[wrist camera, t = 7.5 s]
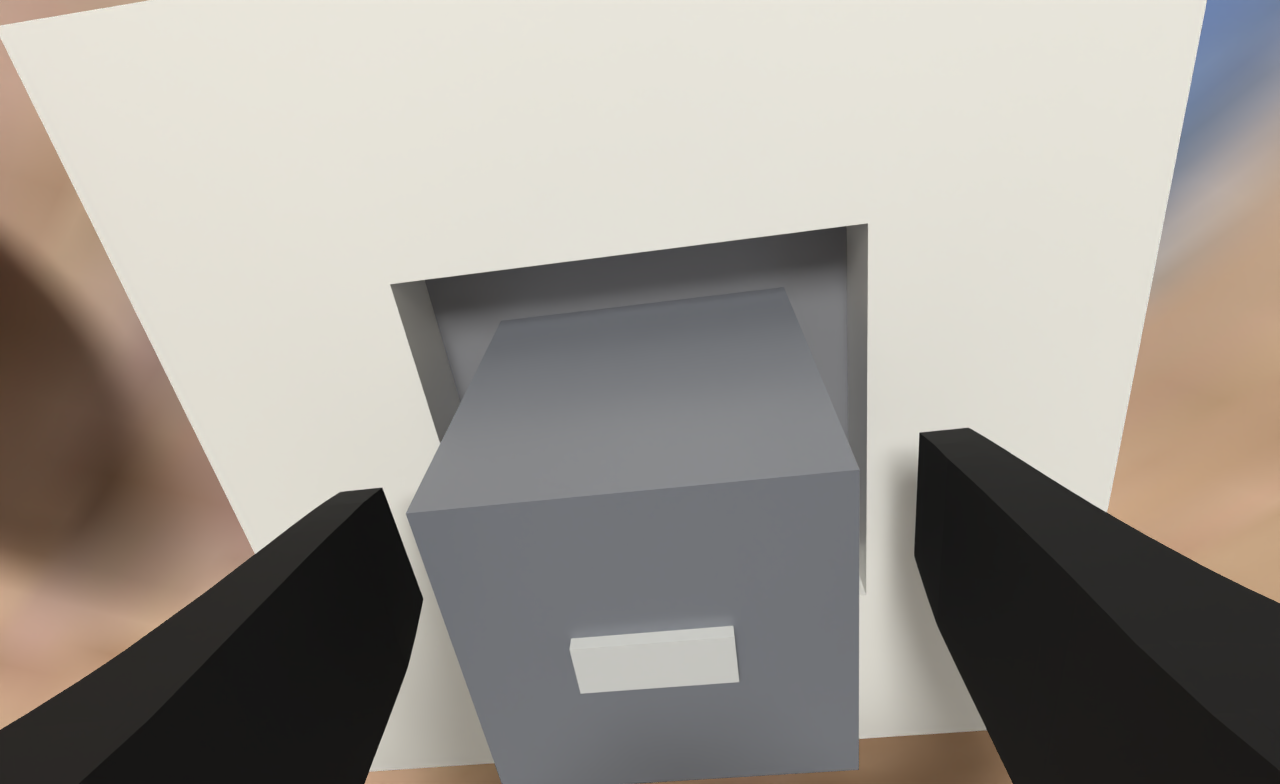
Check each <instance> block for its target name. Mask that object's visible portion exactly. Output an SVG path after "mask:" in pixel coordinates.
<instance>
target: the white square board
mask: <svg viewBox="0 0 1280 784" xmlns="http://www.w3.org/2000/svg"><path fill="white" fill-rule="evenodd" d="M1206 2H1207V0H149V1H143V2H137V3H132V4H126V5H120V6H114V7H108V8H102V9H96V10H90V11H84V12H78V13H72V14H66V15H60V16H54V17H48V18H42V19H36V20H31V21H25V22H19V23H13V24H7V25H1V26H0V38H1V40H2V42H3V44H4V46H5V48H6V50H7V52H8V54H9V56H10V58H11V60H12V62H13V64H14V66H15V68H16V70H17V72H18V74H19V76H20V78H21V81H22V83H23V85H24V87H25V89H26V91H27V93H28V95H29V97H30V99H31V101H32V103H33V105H34V107H35V109H36V111H37V113H38V115H39V117H40V119H41V121H42V123H43V125H44V127H45V129H46V131H47V133H48V135H49V137H50V139H51V141H52V143H53V145H54V147H55V149H56V151H57V153H58V155H59V158H60V160H61V162H62V164H63V166H64V168H65V170H66V172H67V174H68V176H69V178H70V180H71V182H72V184H73V186H74V188H75V190H76V192H77V194H78V196H79V198H80V200H81V202H82V204H83V206H84V208H85V210H86V212H87V214H88V216H89V218H90V220H91V222H92V224H93V226H94V228H95V230H96V232H97V235H98V237H99V239H100V241H101V243H102V245H103V247H104V249H105V251H106V253H107V255H108V257H109V259H110V261H111V263H112V265H113V267H114V269H115V271H116V273H117V275H118V277H119V279H120V281H121V283H122V285H123V287H124V289H125V291H126V293H127V295H128V297H129V299H130V301H131V303H132V305H133V307H134V309H135V312H136V314H137V316H138V318H139V320H140V322H141V324H142V326H143V328H144V330H145V332H146V334H147V336H148V338H149V340H150V342H151V344H152V346H153V348H154V350H155V352H156V354H157V356H158V358H159V360H160V362H161V364H162V366H163V368H164V370H165V372H166V374H167V376H168V378H169V380H170V382H171V384H172V386H173V389H174V391H175V393H176V395H177V397H178V399H179V401H180V403H181V405H182V407H183V409H184V411H185V413H186V415H187V417H188V419H189V421H190V423H191V425H192V427H193V429H194V431H195V433H196V435H197V437H198V439H199V441H200V443H201V445H202V447H203V449H204V451H205V453H206V455H207V457H208V459H209V461H210V464H211V466H212V468H213V470H214V472H215V474H216V476H217V478H218V480H219V482H220V484H221V486H222V488H223V490H224V492H225V494H226V496H227V498H228V500H229V502H230V504H231V506H232V508H233V510H234V512H235V514H236V516H237V518H238V520H239V522H240V524H241V526H242V528H243V530H244V532H245V534H246V536H247V538H248V541H249V543H250V545H251V547H252V549H253V551H254V553H255V554H256V553H257V552H258V551H260V550H261V549H262V548H264V547H265V546H266V545H268V544H269V543H270V542H271V541H273V540H274V539H275V538H277V537H278V536H279V535H280V534H282V533H283V532H284V531H286V530H287V529H288V528H290V527H291V526H292V525H294V524H295V523H296V522H297V521H299V520H300V519H301V518H303V517H304V516H306V515H307V514H308V513H310V512H311V511H312V510H314V509H315V508H316V507H318V506H319V505H321V504H322V503H324V502H325V501H327V500H328V499H330V498H331V497H333V496H334V495H336V494H338V493H339V492H343V491H353V490H363V489H372V488H383V491H384V493H385V496H386V499H387V501H388V504H389V507H390V510H391V512H392V515H393V518H394V520H395V523H396V526H397V529H398V531H399V534H400V537H401V539H402V542H403V545H404V547H405V550H406V553H407V556H408V558H409V561H410V564H411V566H412V569H413V572H414V575H415V577H416V580H417V583H418V585H419V588H420V591H421V593H422V596H423V604H422V609H421V613H420V618H419V623H418V628H417V632H416V637H415V641H414V645H413V649H412V653H411V657H410V661H409V665H408V669H407V671H406V674H405V677H404V680H403V683H402V685H401V688H400V691H399V693H398V696H397V699H396V701H395V704H394V707H393V710H392V712H391V715H390V718H389V720H388V723H387V726H386V728H385V731H384V733H383V736H382V739H381V741H380V744H379V747H378V749H377V752H376V754H375V757H374V760H373V762H372V765H371V767H370V770H369V772H370V771H385V770H400V769H415V768H430V767H445V766H460V765H475V764H490V763H494V760H493V758H492V755H491V752H490V749H489V746H488V744H487V741H486V738H485V735H484V732H483V730H482V727H481V724H480V721H479V718H478V715H477V713H476V710H475V707H474V704H473V701H472V699H471V696H470V693H469V690H468V687H467V685H466V682H465V679H464V676H463V673H462V670H461V668H460V665H459V662H458V659H457V656H456V654H455V651H454V648H453V645H452V642H451V640H450V637H449V634H448V631H447V628H446V625H445V623H444V620H443V617H442V614H441V611H440V609H439V606H438V603H437V600H436V597H435V595H434V592H433V589H432V586H431V583H430V580H429V578H428V575H427V572H426V569H425V566H424V564H423V561H422V558H421V555H420V552H419V550H418V547H417V544H416V541H415V538H414V535H413V533H412V530H411V527H410V524H409V521H408V519H407V516H406V512H407V510H408V508H409V506H410V504H411V502H412V500H413V498H414V496H415V494H416V492H417V490H418V488H419V486H420V483H421V481H422V479H423V477H424V475H425V473H426V471H427V469H428V467H429V465H430V463H431V461H432V459H433V457H434V455H435V453H436V451H437V449H438V447H439V445H440V443H441V441H442V439H443V437H444V435H445V433H446V431H447V429H448V427H449V425H450V423H451V421H452V419H453V417H454V415H455V413H456V411H457V409H458V407H459V405H460V403H461V401H462V399H463V397H464V395H465V393H466V391H467V388H468V386H469V384H470V382H471V380H472V378H473V376H474V374H475V372H476V370H477V368H478V366H479V364H480V362H481V360H482V358H483V356H484V354H485V352H486V350H487V348H488V346H489V344H490V342H491V340H492V338H493V336H494V334H495V332H496V330H497V328H498V326H499V324H500V322H501V321H503V320H511V319H520V318H528V317H536V316H545V315H553V314H562V313H570V312H579V311H587V310H595V309H604V308H612V307H621V306H629V305H637V304H646V303H654V302H663V301H671V300H679V299H688V298H696V297H705V296H713V295H722V294H730V293H738V292H747V291H755V290H764V289H772V288H780V287H784V289H785V291H786V293H787V296H788V298H789V301H790V303H791V306H792V308H793V310H794V313H795V315H796V318H797V320H798V322H799V325H800V327H801V330H802V332H803V334H804V337H805V339H806V342H807V344H808V347H809V349H810V351H811V354H812V356H813V359H814V361H815V363H816V366H817V368H818V371H819V373H820V375H821V378H822V380H823V383H824V385H825V387H826V390H827V392H828V395H829V397H830V400H831V402H832V404H833V407H834V409H835V412H836V414H837V416H838V419H839V421H840V424H841V426H842V428H843V431H844V433H845V436H846V438H847V440H848V443H849V445H850V448H851V450H852V453H853V455H854V457H855V460H856V462H857V465H858V467H859V469H860V507H859V739H864V738H879V737H894V736H909V735H924V734H939V733H954V732H969V731H984V730H987V729H986V727H985V725H984V723H983V721H982V719H981V716H980V714H979V712H978V710H977V708H976V706H975V704H974V702H973V700H972V698H971V696H970V694H969V692H968V690H967V688H966V686H965V683H964V681H963V679H962V677H961V675H960V673H959V671H958V669H957V667H956V665H955V662H954V660H953V658H952V656H951V654H950V652H949V650H948V648H947V646H946V644H945V641H944V639H943V637H942V635H941V633H940V631H939V629H938V626H937V624H936V621H935V618H934V615H933V612H932V609H931V607H930V604H929V601H928V598H927V595H926V592H925V589H924V586H923V583H922V579H921V576H920V573H919V570H918V567H917V564H916V561H915V557H914V544H915V522H916V499H917V476H918V454H919V433H920V432H930V431H939V430H949V429H959V428H970V429H972V430H974V431H976V432H977V433H979V434H981V435H982V436H984V437H986V438H987V439H989V440H991V441H992V442H994V443H996V444H997V445H999V446H1000V447H1002V448H1004V449H1005V450H1007V451H1008V452H1010V453H1011V454H1013V455H1015V456H1016V457H1018V458H1019V459H1021V460H1022V461H1024V462H1026V463H1027V464H1029V465H1030V466H1032V467H1034V468H1035V469H1037V470H1038V471H1040V472H1041V473H1043V474H1045V475H1046V476H1048V477H1049V478H1051V479H1052V480H1054V481H1056V482H1057V483H1059V484H1061V485H1062V486H1064V487H1065V488H1067V489H1069V490H1070V491H1072V492H1073V493H1075V494H1077V495H1078V496H1080V497H1082V498H1083V499H1085V500H1087V501H1088V502H1090V503H1091V504H1093V505H1095V506H1096V507H1098V508H1100V509H1101V510H1103V511H1105V512H1107V510H1108V505H1109V500H1110V495H1111V490H1112V485H1113V479H1114V474H1115V469H1116V464H1117V459H1118V454H1119V449H1120V443H1121V438H1122V433H1123V428H1124V423H1125V418H1126V413H1127V408H1128V402H1129V397H1130V392H1131V387H1132V382H1133V377H1134V372H1135V367H1136V361H1137V356H1138V351H1139V346H1140V341H1141V336H1142V331H1143V325H1144V320H1145V315H1146V310H1147V305H1148V300H1149V295H1150V290H1151V284H1152V279H1153V274H1154V269H1155V264H1156V259H1157V254H1158V249H1159V243H1160V238H1161V233H1162V228H1163V223H1164V218H1165V213H1166V207H1167V202H1168V197H1169V192H1170V187H1171V182H1172V177H1173V172H1174V166H1175V161H1176V156H1177V151H1178V146H1179V141H1180V136H1181V130H1182V125H1183V120H1184V115H1185V110H1186V105H1187V100H1188V95H1189V89H1190V84H1191V79H1192V74H1193V69H1194V64H1195V59H1196V54H1197V48H1198V43H1199V38H1200V33H1201V28H1202V23H1203V18H1204V12H1205V7H1206Z"/></svg>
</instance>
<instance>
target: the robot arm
mask: <svg viewBox="0 0 1280 784" xmlns="http://www.w3.org/2000/svg"><path fill="white" fill-rule="evenodd" d="M914 557H915V561H916V564H917V567H918V570H919V573H920V576H921V579H922V583H923V586H924V589H925V592H926V595H927V598H928V601H929V604H930V607H931V609H932V612H933V615H934V618H935V621H936V624H937V626H938V629H939V631H940V633H941V635H942V637H943V639H944V641H945V644H946V646H947V648H948V650H949V652H950V654H951V656H952V658H953V660H954V662H955V665H956V667H957V669H958V671H959V673H960V675H961V677H962V679H963V681H964V683H965V686H966V688H967V690H968V692H969V694H970V696H971V698H972V700H973V702H974V704H975V706H976V708H977V710H978V712H979V714H980V716H981V719H982V721H983V723H984V725H985V727H986V729H987V731H988V733H989V735H990V737H991V739H992V741H993V743H994V745H995V747H996V750H997V752H998V754H999V756H1000V758H1001V760H1002V762H1003V764H1004V766H1005V768H1006V770H1007V772H1008V774H1009V776H1010V778H1011V780H1012V783H1013V784H1280V603H1278V602H1276V601H1274V600H1271V599H1269V598H1267V597H1265V596H1263V595H1261V594H1259V593H1256V592H1254V591H1252V590H1250V589H1248V588H1246V587H1244V586H1242V585H1240V584H1238V583H1236V582H1234V581H1232V580H1230V579H1228V578H1225V577H1223V576H1221V575H1219V574H1217V573H1215V572H1213V571H1212V570H1210V569H1208V568H1206V567H1204V566H1202V565H1200V564H1198V563H1196V562H1195V561H1193V560H1191V559H1189V558H1187V557H1185V556H1183V555H1182V554H1180V553H1178V552H1176V551H1174V550H1172V549H1170V548H1169V547H1167V546H1165V545H1163V544H1161V543H1159V542H1157V541H1156V540H1154V539H1152V538H1150V537H1148V536H1146V535H1145V534H1143V533H1141V532H1139V531H1138V530H1136V529H1134V528H1132V527H1131V526H1129V525H1127V524H1125V523H1124V522H1122V521H1120V520H1118V519H1117V518H1115V517H1113V516H1112V515H1110V514H1108V513H1107V512H1105V511H1103V510H1101V509H1100V508H1098V507H1096V506H1095V505H1093V504H1091V503H1090V502H1088V501H1087V500H1085V499H1083V498H1082V497H1080V496H1078V495H1077V494H1075V493H1073V492H1072V491H1070V490H1069V489H1067V488H1065V487H1064V486H1062V485H1061V484H1059V483H1057V482H1056V481H1054V480H1052V479H1051V478H1049V477H1048V476H1046V475H1045V474H1043V473H1041V472H1040V471H1038V470H1037V469H1035V468H1034V467H1032V466H1030V465H1029V464H1027V463H1026V462H1024V461H1022V460H1021V459H1019V458H1018V457H1016V456H1015V455H1013V454H1011V453H1010V452H1008V451H1007V450H1005V449H1004V448H1002V447H1000V446H999V445H997V444H996V443H994V442H992V441H991V440H989V439H987V438H986V437H984V436H982V435H981V434H979V433H977V432H976V431H974V430H972V429H970V428H959V429H949V430H939V431H930V432H920V433H919V454H918V476H917V499H916V522H915V544H914ZM422 604H423V596H422V593H421V591H420V588H419V585H418V583H417V580H416V577H415V575H414V572H413V569H412V566H411V564H410V561H409V558H408V556H407V553H406V550H405V547H404V545H403V542H402V539H401V537H400V534H399V531H398V529H397V526H396V523H395V520H394V518H393V515H392V512H391V510H390V507H389V504H388V501H387V499H386V496H385V493H384V491H383V488H372V489H363V490H353V491H343V492H339V493H338V494H336V495H334V496H333V497H331V498H330V499H328V500H327V501H325V502H324V503H322V504H321V505H319V506H318V507H316V508H315V509H314V510H312V511H311V512H310V513H308V514H307V515H306V516H304V517H303V518H301V519H300V520H299V521H297V522H296V523H295V524H294V525H292V526H291V527H290V528H288V529H287V530H286V531H284V532H283V533H282V534H280V535H279V536H278V537H277V538H275V539H274V540H273V541H271V542H270V543H269V544H268V545H266V546H265V547H264V548H262V549H261V550H260V551H258V552H257V553H256V554H255V555H253V556H252V557H251V558H249V559H248V560H247V561H246V562H244V563H243V564H242V565H240V566H239V567H238V568H236V569H235V570H234V571H233V572H231V573H230V574H229V575H227V576H226V577H225V578H223V579H222V580H221V581H220V582H218V583H217V584H216V585H214V586H213V587H212V588H210V589H209V590H208V591H206V592H205V593H204V594H202V595H201V596H200V597H198V598H197V599H195V600H194V601H193V602H191V603H190V604H189V605H187V606H186V607H184V608H183V609H182V610H180V611H179V612H178V613H176V614H175V615H173V616H172V617H171V618H169V619H168V620H166V621H165V622H164V623H162V624H161V625H160V626H158V627H157V628H155V629H154V630H153V631H151V632H150V633H148V634H147V635H146V636H144V637H143V638H142V639H140V640H139V641H137V642H136V643H135V644H133V645H132V646H130V647H129V648H128V649H126V650H125V651H123V652H122V653H120V654H119V655H117V656H116V657H115V658H113V659H112V660H110V661H109V662H107V663H106V664H104V665H103V666H101V667H100V668H98V669H97V670H95V671H94V672H92V673H91V674H89V675H88V676H86V677H85V678H83V679H82V680H80V681H78V682H77V683H75V684H74V685H72V686H71V687H69V688H67V689H66V690H64V691H63V692H61V693H59V694H58V695H56V696H55V697H53V698H51V699H50V700H48V701H47V702H45V703H43V704H42V705H40V706H39V707H37V708H35V709H34V710H32V711H31V712H29V713H28V714H26V715H24V716H23V717H21V718H19V719H18V720H16V721H14V722H13V723H11V724H9V725H8V726H6V727H4V728H3V729H1V730H0V784H364V783H365V781H366V778H367V775H368V773H369V770H370V767H371V765H372V762H373V760H374V757H375V754H376V752H377V749H378V747H379V744H380V741H381V739H382V736H383V733H384V731H385V728H386V726H387V723H388V720H389V718H390V715H391V712H392V710H393V707H394V704H395V701H396V699H397V696H398V693H399V691H400V688H401V685H402V683H403V680H404V677H405V674H406V671H407V669H408V665H409V661H410V657H411V653H412V649H413V645H414V641H415V637H416V632H417V628H418V623H419V618H420V613H421V609H422Z"/></svg>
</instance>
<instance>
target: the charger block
mask: <svg viewBox="0 0 1280 784" xmlns="http://www.w3.org/2000/svg"><path fill="white" fill-rule="evenodd" d="M859 507H860V469H859V467H858V465H857V462H856V460H855V457H854V455H853V453H852V450H851V448H850V445H849V443H848V440H847V438H846V436H845V433H844V431H843V428H842V426H841V424H840V421H839V419H838V416H837V414H836V412H835V409H834V407H833V404H832V402H831V400H830V397H829V395H828V392H827V390H826V387H825V385H824V383H823V380H822V378H821V375H820V373H819V371H818V368H817V366H816V363H815V361H814V359H813V356H812V354H811V351H810V349H809V347H808V344H807V342H806V339H805V337H804V334H803V332H802V330H801V327H800V325H799V322H798V320H797V318H796V315H795V313H794V310H793V308H792V306H791V303H790V301H789V298H788V296H787V293H786V291H785V289H784V287H780V288H772V289H764V290H755V291H747V292H738V293H730V294H722V295H713V296H705V297H696V298H688V299H679V300H671V301H663V302H654V303H646V304H637V305H629V306H621V307H612V308H604V309H595V310H587V311H579V312H570V313H562V314H553V315H545V316H536V317H528V318H520V319H511V320H503V321H501V322H500V324H499V326H498V328H497V330H496V332H495V334H494V336H493V338H492V340H491V342H490V344H489V346H488V348H487V350H486V352H485V354H484V356H483V358H482V360H481V362H480V364H479V366H478V368H477V370H476V372H475V374H474V376H473V378H472V380H471V382H470V384H469V386H468V388H467V391H466V393H465V395H464V397H463V399H462V401H461V403H460V405H459V407H458V409H457V411H456V413H455V415H454V417H453V419H452V421H451V423H450V425H449V427H448V429H447V431H446V433H445V435H444V437H443V439H442V441H441V443H440V445H439V447H438V449H437V451H436V453H435V455H434V457H433V459H432V461H431V463H430V465H429V467H428V469H427V471H426V473H425V475H424V477H423V479H422V481H421V483H420V486H419V488H418V490H417V492H416V494H415V496H414V498H413V500H412V502H411V504H410V506H409V508H408V510H407V512H406V516H407V519H408V521H409V524H410V527H411V530H412V533H413V535H414V538H415V541H416V544H417V547H418V550H419V552H420V555H421V558H422V561H423V564H424V566H425V569H426V572H427V575H428V578H429V580H430V583H431V586H432V589H433V592H434V595H435V597H436V600H437V603H438V606H439V609H440V611H441V614H442V617H443V620H444V623H445V625H446V628H447V631H448V634H449V637H450V640H451V642H452V645H453V648H454V651H455V654H456V656H457V659H458V662H459V665H460V668H461V670H462V673H463V676H464V679H465V682H466V685H467V687H468V690H469V693H470V696H471V699H472V701H473V704H474V707H475V710H476V713H477V715H478V718H479V721H480V724H481V727H482V730H483V732H484V735H485V738H486V741H487V744H488V746H489V749H490V752H491V755H492V758H493V760H494V763H495V766H496V769H497V772H498V775H499V777H500V780H501V783H502V784H635V783H651V782H667V781H683V780H700V779H716V778H732V777H748V776H765V775H781V774H797V773H814V772H830V771H846V770H859Z"/></svg>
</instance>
